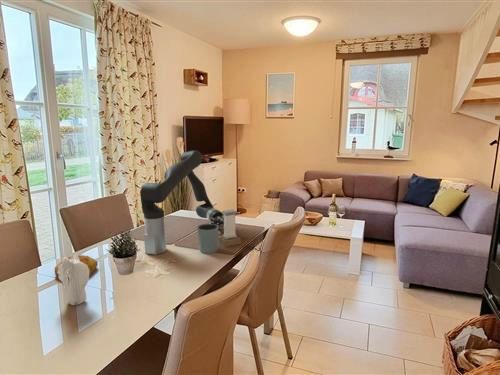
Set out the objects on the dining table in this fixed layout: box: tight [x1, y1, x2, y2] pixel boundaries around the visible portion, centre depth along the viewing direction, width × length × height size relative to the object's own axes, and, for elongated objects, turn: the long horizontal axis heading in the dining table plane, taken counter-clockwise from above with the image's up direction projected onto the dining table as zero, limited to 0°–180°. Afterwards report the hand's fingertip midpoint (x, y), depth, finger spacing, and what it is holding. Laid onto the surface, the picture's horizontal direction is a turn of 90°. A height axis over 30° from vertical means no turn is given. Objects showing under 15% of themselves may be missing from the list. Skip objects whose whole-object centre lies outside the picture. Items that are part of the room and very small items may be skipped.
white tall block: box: [221, 209, 238, 239], centre depth 165 cm, size 4×6×14 cm, turn 118°
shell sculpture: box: [57, 252, 90, 306], centre depth 111 cm, size 8×8×18 cm
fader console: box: [218, 226, 242, 248], centre depth 173 cm, size 22×9×3 cm, turn 28°
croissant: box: [54, 254, 99, 282], centre depth 133 cm, size 14×16×8 cm
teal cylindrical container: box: [197, 223, 219, 255], centre depth 157 cm, size 10×10×12 cm
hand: (228, 224), depth 166 cm, fingers closed
